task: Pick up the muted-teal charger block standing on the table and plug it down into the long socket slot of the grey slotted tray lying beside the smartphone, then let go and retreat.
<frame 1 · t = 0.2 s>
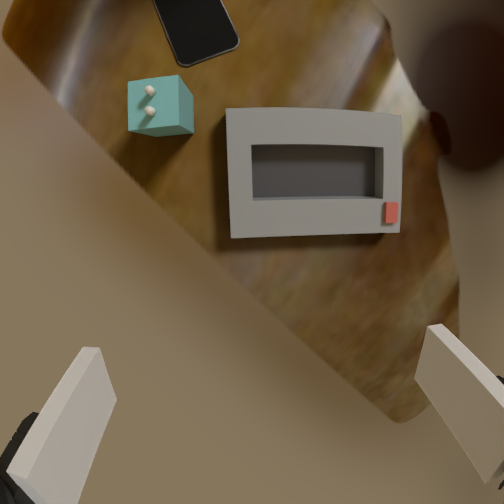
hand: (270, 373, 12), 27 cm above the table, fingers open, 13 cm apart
charger block: (174, 116, 34), on the table
smartphone: (191, 11, 31), on the table
grey slotted tray: (315, 170, 36), on the table
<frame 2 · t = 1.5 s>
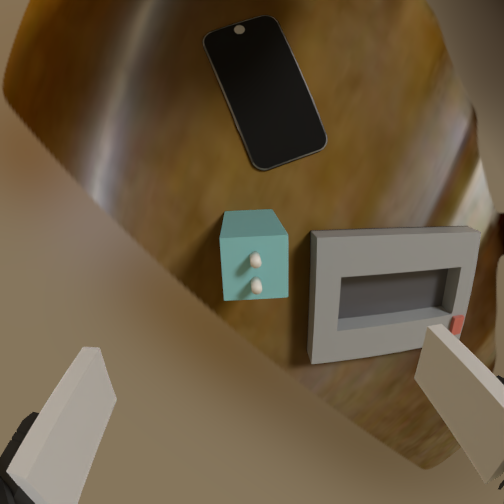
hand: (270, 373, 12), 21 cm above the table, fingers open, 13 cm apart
charger block: (249, 233, 32), on the table
smartphone: (264, 88, 28), on the table
grey slotted tray: (393, 288, 34), on the table
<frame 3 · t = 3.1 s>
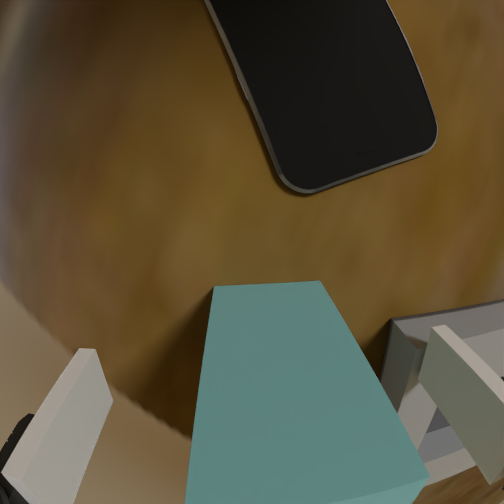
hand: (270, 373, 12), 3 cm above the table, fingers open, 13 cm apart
charger block: (268, 329, 14), on the table
smartphone: (304, 12, 11), on the table
grey slotted tray: (488, 383, 17), on the table
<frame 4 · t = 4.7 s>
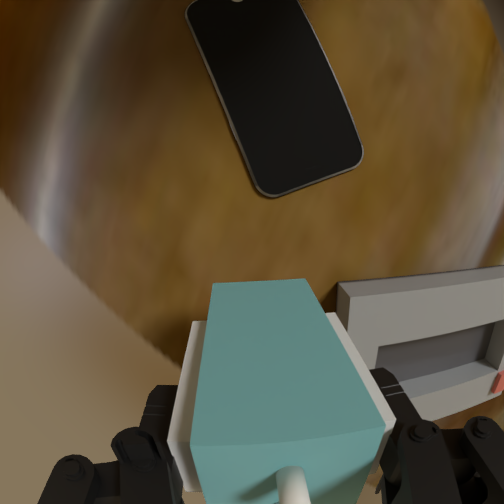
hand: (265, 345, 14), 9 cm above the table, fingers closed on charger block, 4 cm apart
charger block: (260, 322, 16), point 6 cm above the table, touching gripper
smartphone: (273, 77, 19), on the table
grey slotted tray: (435, 345, 24), on the table
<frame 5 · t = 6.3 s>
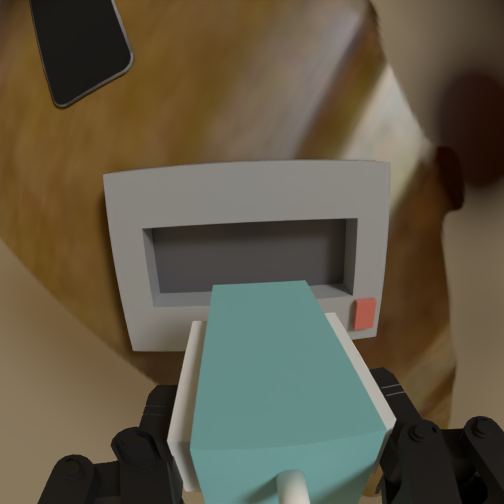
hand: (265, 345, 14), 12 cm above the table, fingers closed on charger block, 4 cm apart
charger block: (260, 323, 16), point 10 cm above the table, touching gripper
smartphone: (76, 23, 19), on the table
grey slotted tray: (250, 252, 25), on the table
when the fingers open (2 cm above the table, at t = 7.9 s): charger block stays where it is, resting on grey slotted tray.
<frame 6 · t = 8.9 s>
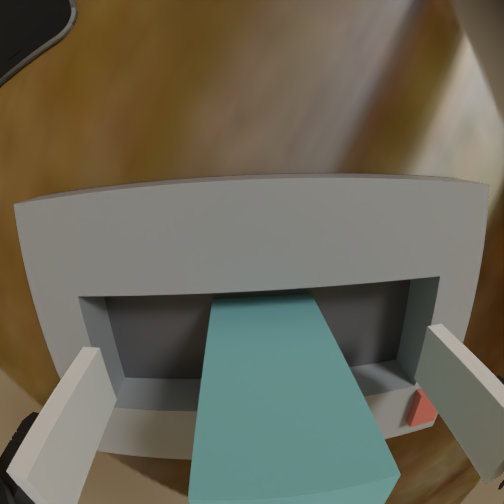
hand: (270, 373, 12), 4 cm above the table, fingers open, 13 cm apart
charger block: (263, 338, 15), resting on grey slotted tray
grey slotted tray: (262, 324, 15), on the table
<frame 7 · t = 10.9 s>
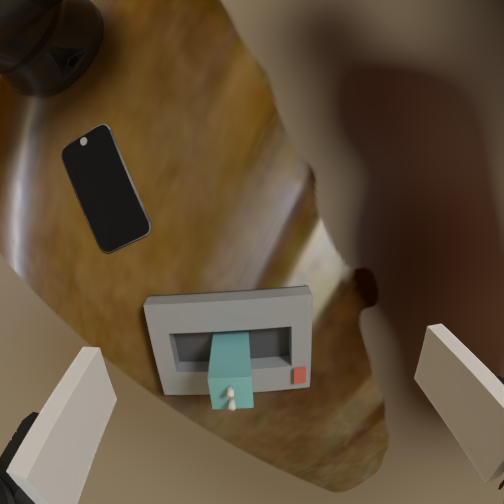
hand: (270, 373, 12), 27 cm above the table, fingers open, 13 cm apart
charger block: (232, 345, 42), resting on grey slotted tray
smartphone: (105, 188, 36), on the table
grey slotted tray: (231, 340, 42), on the table
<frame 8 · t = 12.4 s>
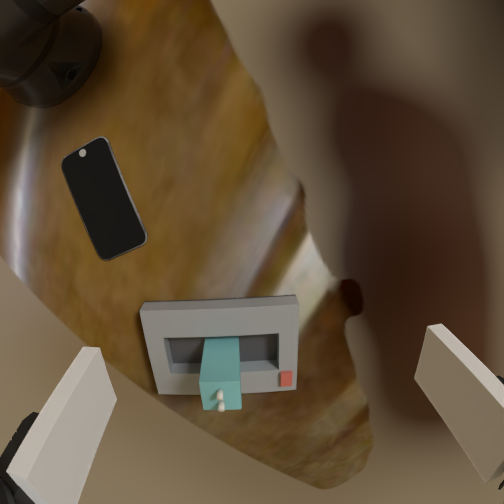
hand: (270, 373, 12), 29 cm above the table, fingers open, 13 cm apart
charger block: (223, 349, 44), resting on grey slotted tray
smartphone: (103, 198, 38), on the table
grey slotted tray: (222, 344, 44), on the table
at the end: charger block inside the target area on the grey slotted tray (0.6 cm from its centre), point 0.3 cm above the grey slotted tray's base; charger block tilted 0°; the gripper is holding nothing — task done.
